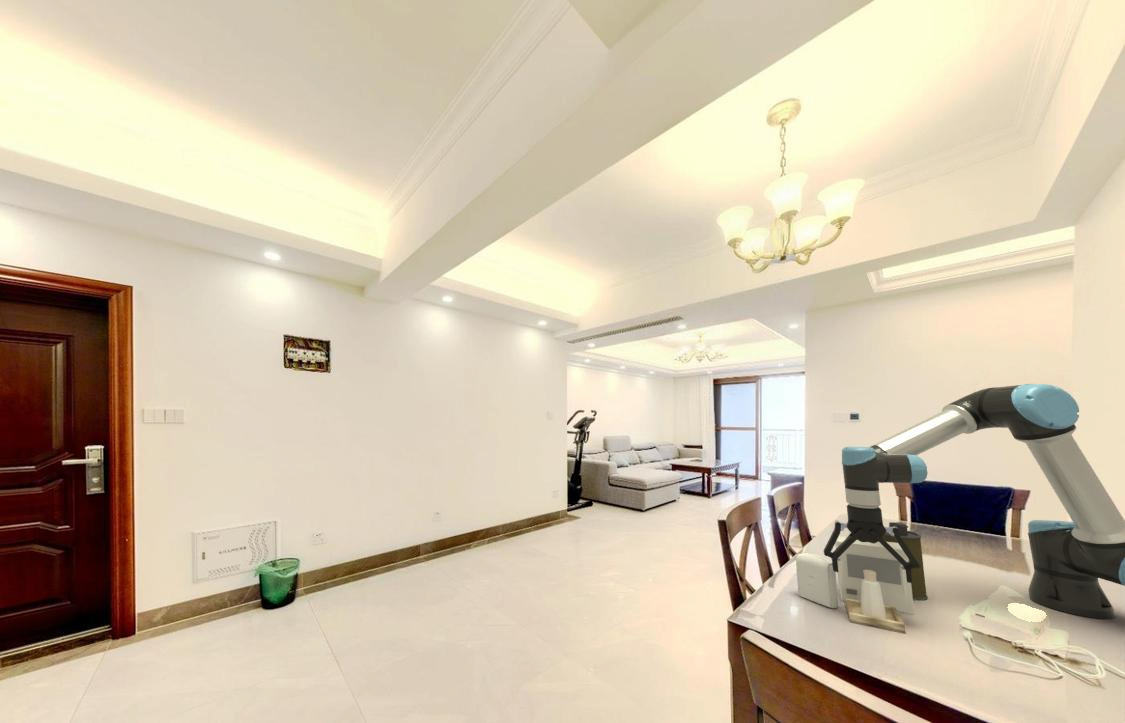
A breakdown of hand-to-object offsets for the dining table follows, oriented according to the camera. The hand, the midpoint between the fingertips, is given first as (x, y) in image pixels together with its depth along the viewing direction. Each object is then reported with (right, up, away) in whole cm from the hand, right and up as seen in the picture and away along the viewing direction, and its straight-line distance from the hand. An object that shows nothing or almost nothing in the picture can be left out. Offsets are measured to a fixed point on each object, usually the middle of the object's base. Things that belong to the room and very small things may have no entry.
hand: (872, 590), depth 106 cm
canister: (+22, -10, +16) cm, 29 cm away
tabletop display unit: (+8, -9, +9) cm, 15 cm away
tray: (0, -7, -1) cm, 7 cm away
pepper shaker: (0, -6, -1) cm, 6 cm away
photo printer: (-9, -8, +9) cm, 15 cm away
